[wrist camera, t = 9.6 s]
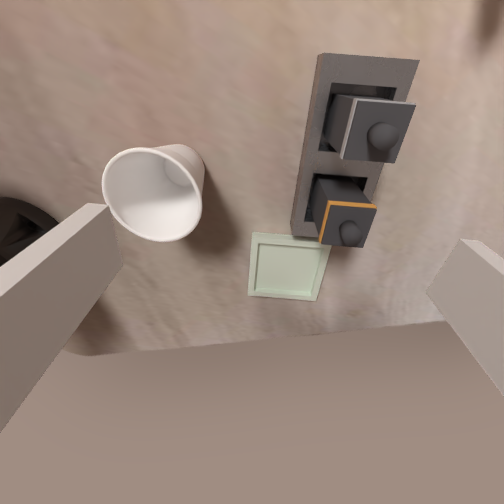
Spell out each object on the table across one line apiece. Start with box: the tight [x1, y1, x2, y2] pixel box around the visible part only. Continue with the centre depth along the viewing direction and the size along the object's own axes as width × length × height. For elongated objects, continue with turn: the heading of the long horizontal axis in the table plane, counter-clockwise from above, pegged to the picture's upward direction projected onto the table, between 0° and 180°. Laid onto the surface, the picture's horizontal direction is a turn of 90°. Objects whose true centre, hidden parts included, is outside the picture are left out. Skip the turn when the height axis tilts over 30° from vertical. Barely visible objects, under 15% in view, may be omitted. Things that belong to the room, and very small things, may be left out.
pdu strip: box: [290, 53, 420, 237], centre depth 31 cm, size 9×20×4 cm, turn 176°
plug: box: [310, 174, 377, 248], centre depth 30 cm, size 5×5×12 cm
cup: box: [102, 144, 205, 242], centre depth 30 cm, size 10×10×11 cm
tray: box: [248, 232, 332, 301], centre depth 42 cm, size 12×12×2 cm
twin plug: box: [324, 93, 416, 163], centre depth 25 cm, size 5×5×12 cm
